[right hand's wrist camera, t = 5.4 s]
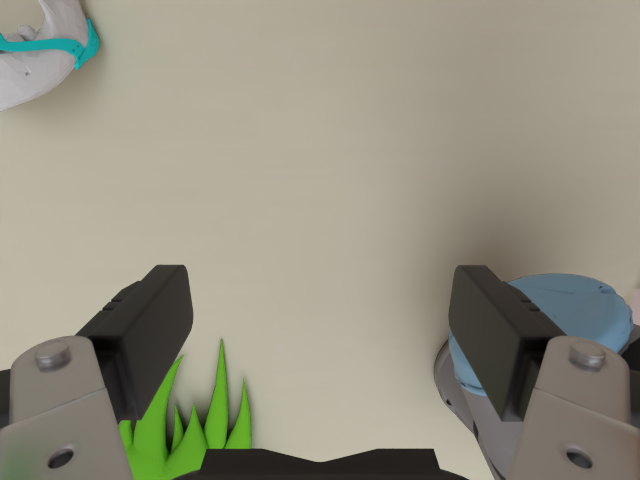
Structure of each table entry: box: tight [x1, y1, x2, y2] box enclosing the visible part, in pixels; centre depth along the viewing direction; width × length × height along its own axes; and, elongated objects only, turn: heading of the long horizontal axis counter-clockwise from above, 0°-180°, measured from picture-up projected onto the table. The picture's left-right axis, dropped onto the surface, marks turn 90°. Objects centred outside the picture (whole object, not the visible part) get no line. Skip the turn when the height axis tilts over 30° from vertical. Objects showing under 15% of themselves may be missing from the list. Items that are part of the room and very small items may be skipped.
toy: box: [119, 339, 252, 480], centre depth 50 cm, size 28×5×30 cm
